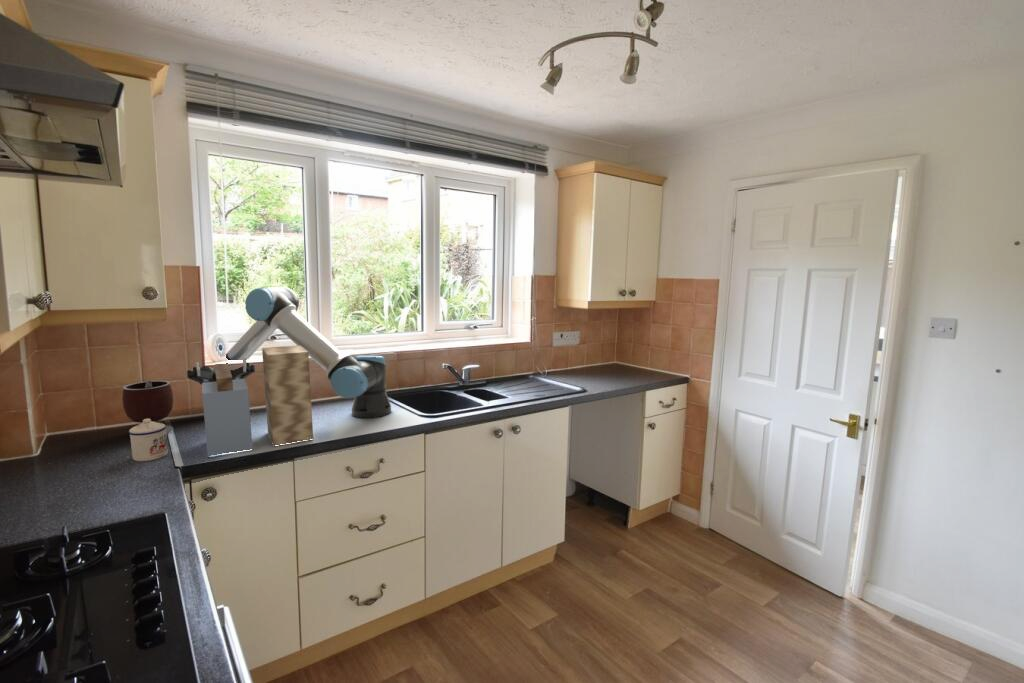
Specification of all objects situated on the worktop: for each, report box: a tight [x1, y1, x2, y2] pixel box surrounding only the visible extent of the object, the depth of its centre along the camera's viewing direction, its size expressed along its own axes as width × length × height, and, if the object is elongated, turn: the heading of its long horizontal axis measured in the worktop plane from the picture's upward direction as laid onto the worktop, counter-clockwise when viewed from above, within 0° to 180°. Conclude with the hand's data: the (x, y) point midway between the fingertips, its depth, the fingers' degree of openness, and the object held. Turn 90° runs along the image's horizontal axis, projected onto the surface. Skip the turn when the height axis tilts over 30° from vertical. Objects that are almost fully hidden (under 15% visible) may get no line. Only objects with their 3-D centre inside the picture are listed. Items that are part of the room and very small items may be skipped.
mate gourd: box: [122, 380, 174, 434], centre depth 169 cm, size 16×14×20 cm
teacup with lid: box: [128, 419, 169, 462], centre depth 150 cm, size 12×9×12 cm
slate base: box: [201, 379, 254, 457], centre depth 157 cm, size 12×16×20 cm
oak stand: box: [261, 345, 314, 446], centre depth 165 cm, size 12×16×30 cm
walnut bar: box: [215, 363, 233, 392], centre depth 159 cm, size 4×26×4 cm, turn 32°
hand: (221, 363), depth 165 cm, fingers open, 13 cm apart
